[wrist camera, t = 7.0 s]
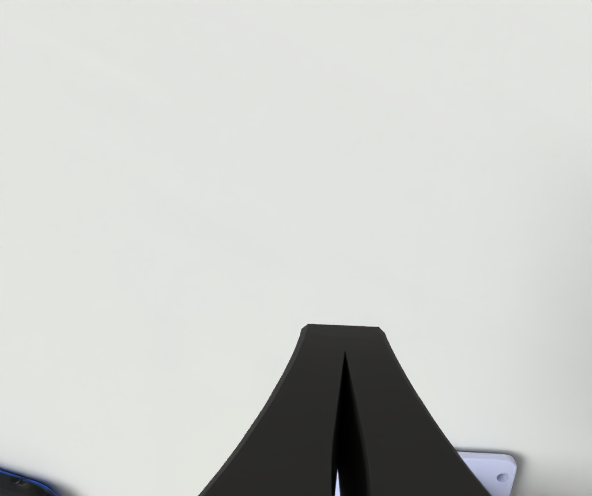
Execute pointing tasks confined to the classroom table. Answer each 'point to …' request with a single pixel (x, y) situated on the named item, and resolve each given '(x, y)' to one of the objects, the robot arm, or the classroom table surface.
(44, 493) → the handheld game console
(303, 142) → the classroom table surface
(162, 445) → the classroom table surface
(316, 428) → the robot arm
